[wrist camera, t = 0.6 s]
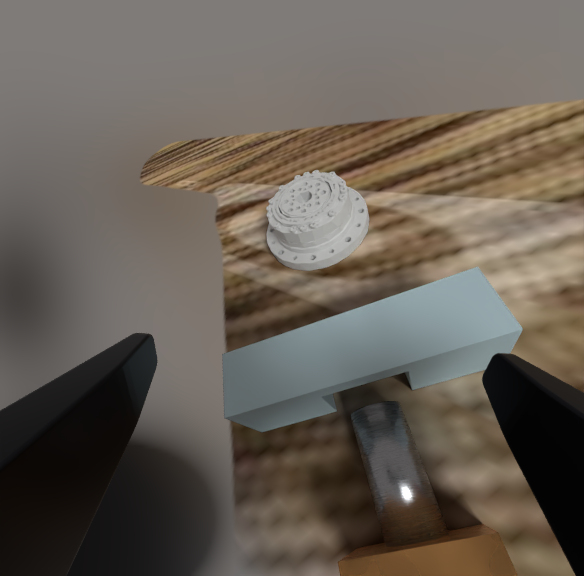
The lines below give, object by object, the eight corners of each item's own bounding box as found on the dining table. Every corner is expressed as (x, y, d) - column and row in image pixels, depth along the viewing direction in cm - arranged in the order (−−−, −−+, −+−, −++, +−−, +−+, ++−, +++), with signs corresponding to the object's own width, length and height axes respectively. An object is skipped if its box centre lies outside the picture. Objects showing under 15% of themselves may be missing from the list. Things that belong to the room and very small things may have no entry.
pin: (496, 556, 14) (517, 575, 11) (364, 578, 16) (345, 602, 12) (429, 401, 19) (429, 379, 15) (330, 428, 20) (308, 414, 16)
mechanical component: (266, 280, 29) (373, 262, 26) (245, 251, 26) (365, 227, 22) (276, 207, 35) (366, 185, 31) (259, 175, 31) (358, 147, 28)
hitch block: (503, 364, 18) (523, 329, 14) (262, 432, 21) (224, 418, 17) (469, 309, 21) (477, 266, 17) (256, 377, 24) (222, 354, 20)
